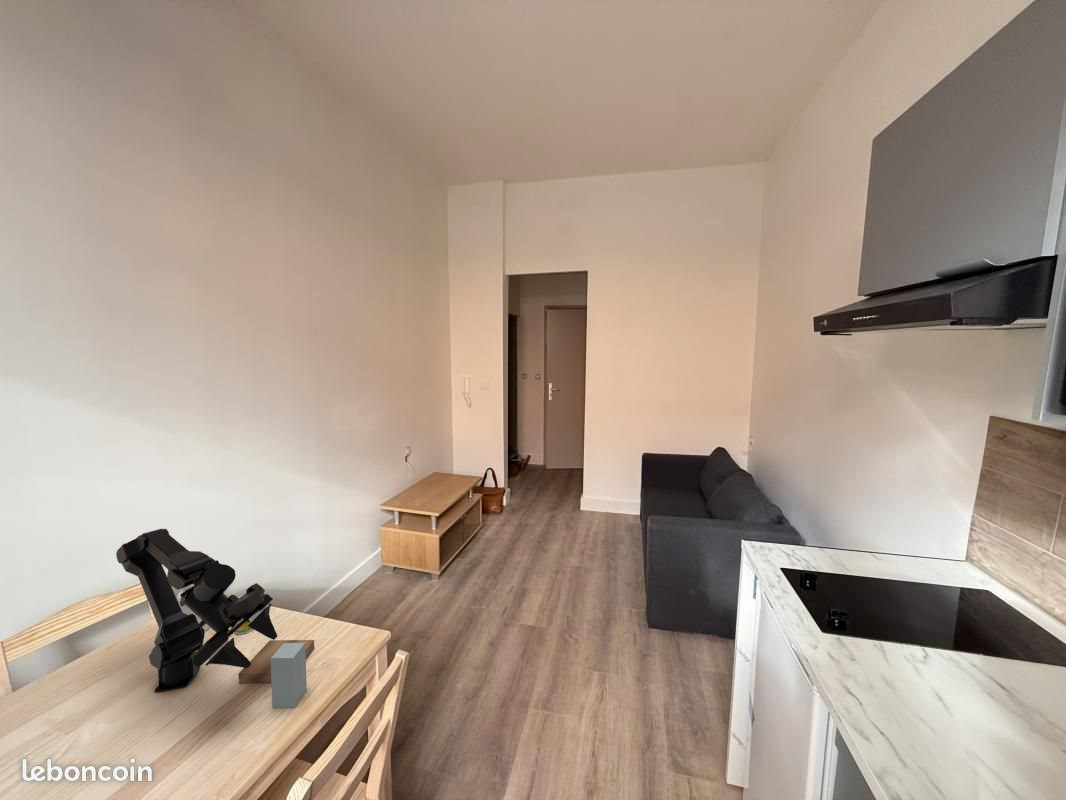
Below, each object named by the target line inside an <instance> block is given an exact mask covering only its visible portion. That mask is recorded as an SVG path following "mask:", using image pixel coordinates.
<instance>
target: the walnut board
mask: <svg viewBox="0 0 1066 800" xmlns="http://www.w3.org/2000/svg"><path fill="white" fill-rule="evenodd" d="M284 643H305V646H306V660H307V659H308V657H309V656H310V655H311V654H312V653H313V651H314V649H315V639H284V640H283V639H278V640H277V639H274V640H273V639H271V640H269V641H267V643H266V644H265V645H264V646H263V647H261V649H259V651H258V652H257V653H256V654H255V655H254V656H253V658H252V659H251V660H249V661H250V662H251V665H250V666H249V667H248V668H242V669H241V670H240V672H239V673H238V684H271V657H272V656H273V655H274V654H275V653H276V652H277V650H278V649H279V648H280V647H281V646H282V645H283V644H284Z"/></svg>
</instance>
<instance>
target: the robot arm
mask: <svg viewBox="0 0 1066 800" xmlns="http://www.w3.org/2000/svg"><path fill="white" fill-rule="evenodd" d="M115 554H116V555H115V556H116V560H117V562H118V564H121V565H122V567H123V569H124V571H125V572H126V573H129V574H131V575H134V576H136V577H137V578H138V580H139V582H140V585H141V587H142V590H143V592H144V595H145V597H146V600H147V602H148V604H149V607H150V609H151V612H152V614H153V616H154V618H155V621H156V623H157V626H158V629H157V632H156V636H155V639H154V642H153V643H154V645H155V646H154V647H153V649H152V650H151V651H150V653H149V655H148V657H149V663H150V665H151V666H152V667H154V668H155V669H157V677H158V680H157V681H158V685H157V686H156V687H155V688H154V693H158V692H160V693H161V692H164V691H171V690H176V689H181V688H186V687H187V686H188V685H189V684H190V683H191V682H192V680H193V679H194V678H195V676H196V675H197V674H198V672H199V671H200V669H201V667H202V665H205V667H208V666H209V665H221V666H222V665H223V666H231V667H236V668H237V667H238V668H242V669H243V668H248V667H249V666H250V665H251V662H250V661H251V660H250V659H249V658H248V657H247V656H245V655H244V654H243V653H242V652H241V651H240V650H239V649H238V647H236V646H235V645H236V644H235V637H232V638H231V639H230V640H229V638H230V637H231V636H232V635H233V634H235V631H236V630H237V629H239V628H240V627H241V626H242V625H243V624H244V623H245V622H250V621H251V623H250V624H249V625H248V626H249V627H250V628H252V629H254V630H253V631H256V632H258V633H259V634H261V635H263V636H265V637H267V638H269V639H271V640H276V639H277V638H278V633H277V631H276V629H275V627H274V625H273V622H272V620H271V617H270V612H271V611H270V609H271V607H272V606H273V605H272V601H273V599H274V598H273V597H271V596H270V595H269V594H268V593H265V591H266V590H265V589H264V588H263V587H262V586H261V585H260V584H259V583H253V584H252V585H250V586H248V587H247V588H246V593H244V594H242V595H243V596H242V595H240V596H241V597H240V596H236V595H235V594H231V595H230V596H227V595H226V594H225V592H226V591H227V590H228V588H229V587H230V586H231V585H232V584H233V583H234V581H235V579H236V570H235V568H233V567H231V566H230V565H228V564H224V563H220V562H219V560H216V559H214V558H213V557H211V556H209V555H208V554H207V553H204V552H202V551H199V550H197V551H194V550H189V549H187V548H186V547H185V546H184V545H182V544H181V543H180V542H178V540H176V539H175V538H174V537H173V536H171V535H170V532H169V530H168V529H167V528H158V529H155V530H151V531H148V532H143V533H141V535H138V536H137V537H136V538H134V539H132V540H130V541H128V542H125V543H122V545H121V546H119V548H118V549H117V550H116V553H115ZM165 569H167V573H166V571H165ZM192 584H194V586H193V587H191V588H189V589H187V590H186V591H185V592H183V593H182V594H181V595H180V596H181V600H180V605H181V606H184V605H186V606H187V607H188V608H189V609H190V610H191V611H193V612H194V613H195V614H196V615H197V616H198V617H199V618H200V619H202V621H201V622H200V623H198V621H197V618H196V616H195V615H194V614H190V615H187V614H185V613H183V612H182V610H181V607H180V605H179V603H178V600H177V596H176V594H175V592H174V589H175V590H182V588H184V587H187V586H189V585H192ZM173 588H174V589H173ZM238 597H239V598H238ZM238 621H239V622H238ZM237 622H238V623H237ZM205 624H207V625H208V626H209V627H210V629H211V630H213V631H214V632H215V633H214V634H213V635H212V636H211V637H210V638H209V639H208V640H206V642H204V641H205V635H206V634H205V633H206V631H205V630H204V629H203V626H204V625H205Z"/></svg>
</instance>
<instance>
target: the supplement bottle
mask: <svg viewBox="0 0 1066 800" xmlns="http://www.w3.org/2000/svg"><path fill="white" fill-rule="evenodd" d="M243 595H244V594H241V595H240V596H237V597H238V598H239V597H241V596H243ZM238 622H239V621H238ZM238 622H237V623H238ZM250 623H251V621H250V622H245V623H244V624H243V625H242V626H241V627H240V628H239V629H237V630H236V631H235V632H234V634H236V635H245V634H247V633H250V632H252V631H255V630H254V629H252V628H250V627H249V626H248V625H249V624H250Z"/></svg>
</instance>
